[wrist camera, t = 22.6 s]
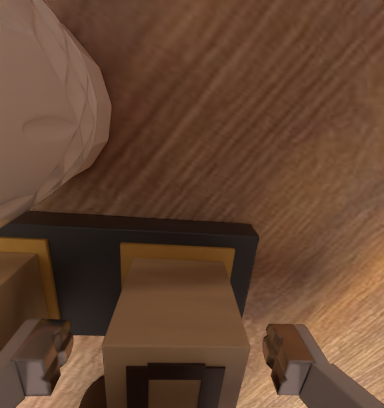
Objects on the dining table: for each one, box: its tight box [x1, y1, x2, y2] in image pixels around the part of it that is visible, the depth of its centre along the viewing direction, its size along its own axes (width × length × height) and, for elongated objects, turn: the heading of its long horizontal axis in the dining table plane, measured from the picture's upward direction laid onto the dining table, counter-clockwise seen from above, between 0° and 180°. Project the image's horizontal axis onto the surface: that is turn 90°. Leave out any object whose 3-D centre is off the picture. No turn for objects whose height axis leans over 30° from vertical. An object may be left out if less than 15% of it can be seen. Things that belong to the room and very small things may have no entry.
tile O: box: [102, 258, 250, 408], centre depth 9 cm, size 4×4×5 cm
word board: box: [0, 211, 259, 336], centre depth 12 cm, size 7×17×2 cm, turn 85°
